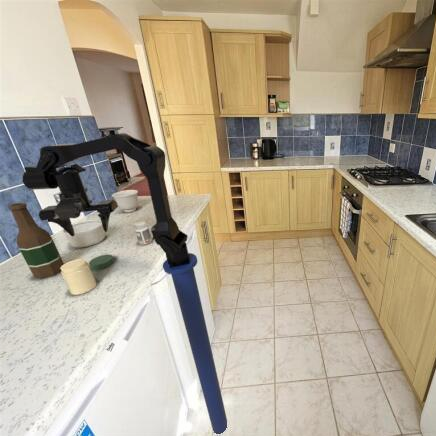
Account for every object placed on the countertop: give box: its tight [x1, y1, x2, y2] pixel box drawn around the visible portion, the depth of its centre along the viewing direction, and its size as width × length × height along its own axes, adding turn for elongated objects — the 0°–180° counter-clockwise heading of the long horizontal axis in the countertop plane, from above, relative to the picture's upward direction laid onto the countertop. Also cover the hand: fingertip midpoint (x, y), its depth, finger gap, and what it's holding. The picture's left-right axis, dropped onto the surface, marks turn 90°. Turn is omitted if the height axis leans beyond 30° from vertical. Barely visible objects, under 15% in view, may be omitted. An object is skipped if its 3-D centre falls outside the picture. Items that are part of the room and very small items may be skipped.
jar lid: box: [88, 253, 115, 270], centre depth 84 cm, size 7×7×2 cm
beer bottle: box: [8, 202, 65, 279], centre depth 76 cm, size 8×8×24 cm
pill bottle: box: [133, 221, 153, 246], centre depth 97 cm, size 5×5×8 cm
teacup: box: [111, 189, 139, 213], centre depth 132 cm, size 12×15×10 cm
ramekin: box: [61, 219, 106, 248], centre depth 99 cm, size 13×13×7 cm
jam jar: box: [60, 258, 97, 296], centre depth 71 cm, size 6×6×8 cm
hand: (90, 233), depth 80 cm, fingers open, 9 cm apart
